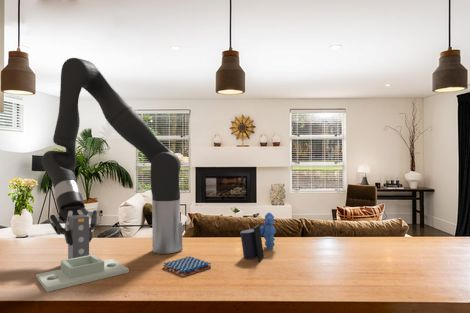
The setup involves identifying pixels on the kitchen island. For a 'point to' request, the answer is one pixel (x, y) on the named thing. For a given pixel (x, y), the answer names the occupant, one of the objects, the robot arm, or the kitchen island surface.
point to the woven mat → (186, 266)
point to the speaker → (252, 243)
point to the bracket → (80, 272)
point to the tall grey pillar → (79, 236)
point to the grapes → (268, 230)
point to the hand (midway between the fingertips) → (80, 242)
